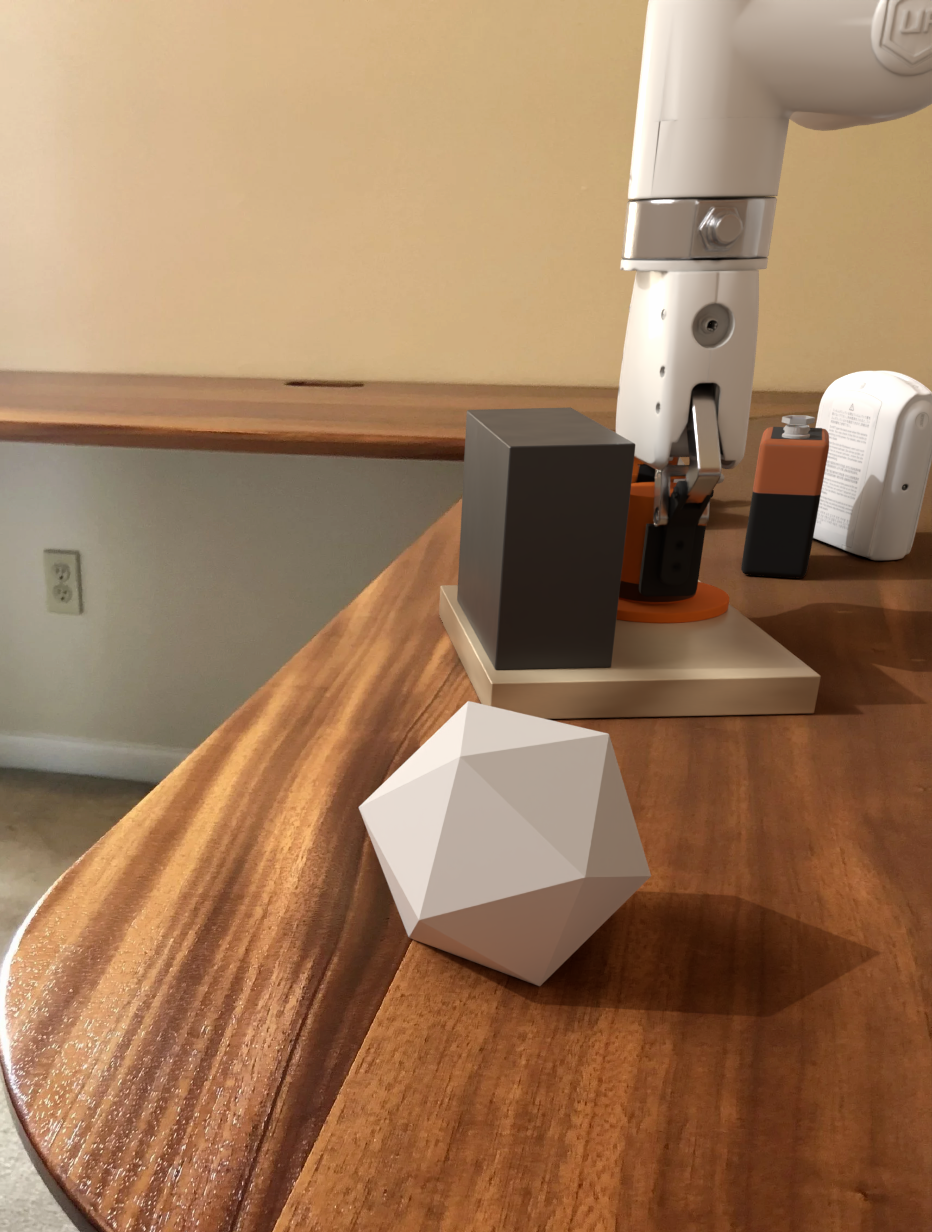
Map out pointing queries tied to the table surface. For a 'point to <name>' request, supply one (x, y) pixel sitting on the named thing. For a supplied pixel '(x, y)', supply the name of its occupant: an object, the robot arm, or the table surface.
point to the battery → (785, 499)
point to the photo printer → (874, 463)
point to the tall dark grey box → (543, 536)
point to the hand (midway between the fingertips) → (652, 579)
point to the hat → (631, 601)
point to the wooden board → (648, 672)
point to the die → (507, 839)
